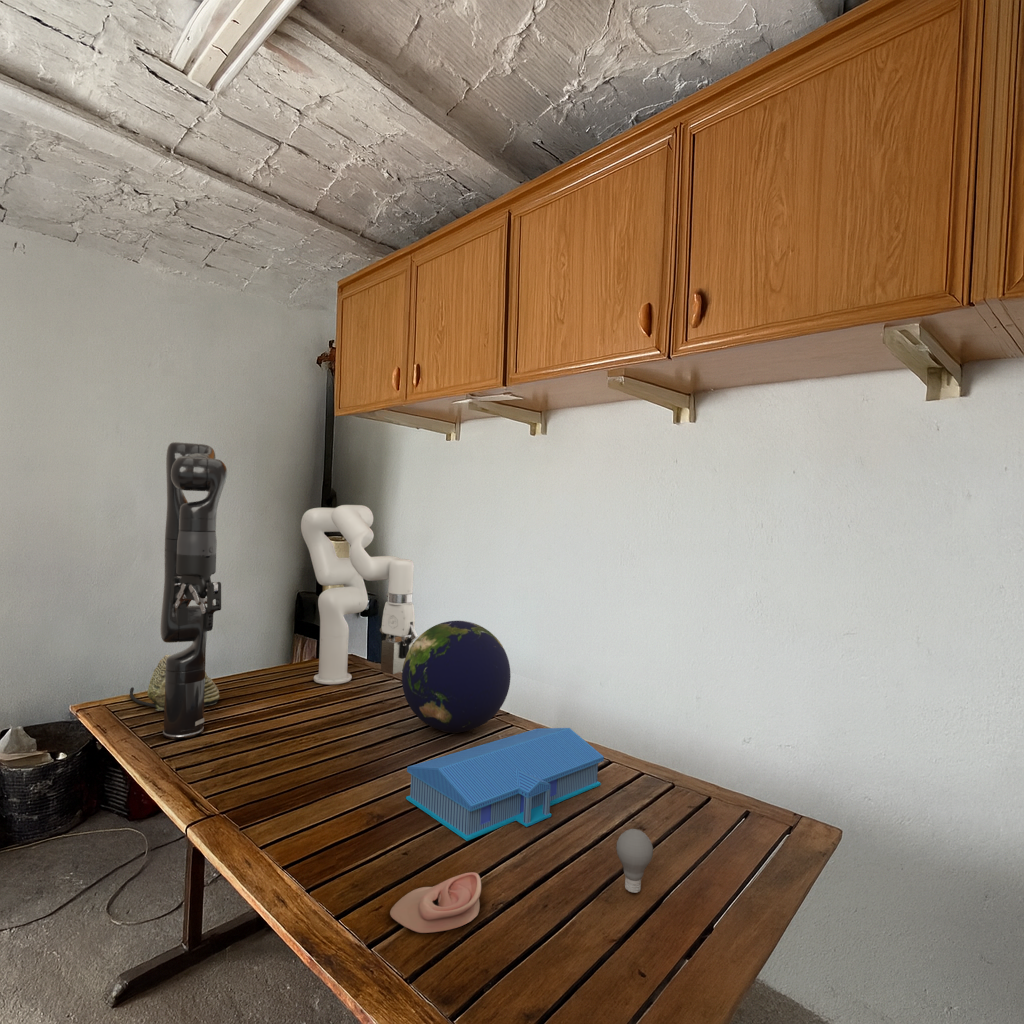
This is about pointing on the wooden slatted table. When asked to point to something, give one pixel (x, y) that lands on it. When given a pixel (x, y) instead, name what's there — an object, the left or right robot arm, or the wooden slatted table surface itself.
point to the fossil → (158, 687)
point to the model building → (504, 780)
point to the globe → (456, 676)
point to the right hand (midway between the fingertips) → (397, 655)
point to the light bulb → (634, 857)
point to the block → (392, 655)
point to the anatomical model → (440, 905)
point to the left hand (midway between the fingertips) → (194, 628)
